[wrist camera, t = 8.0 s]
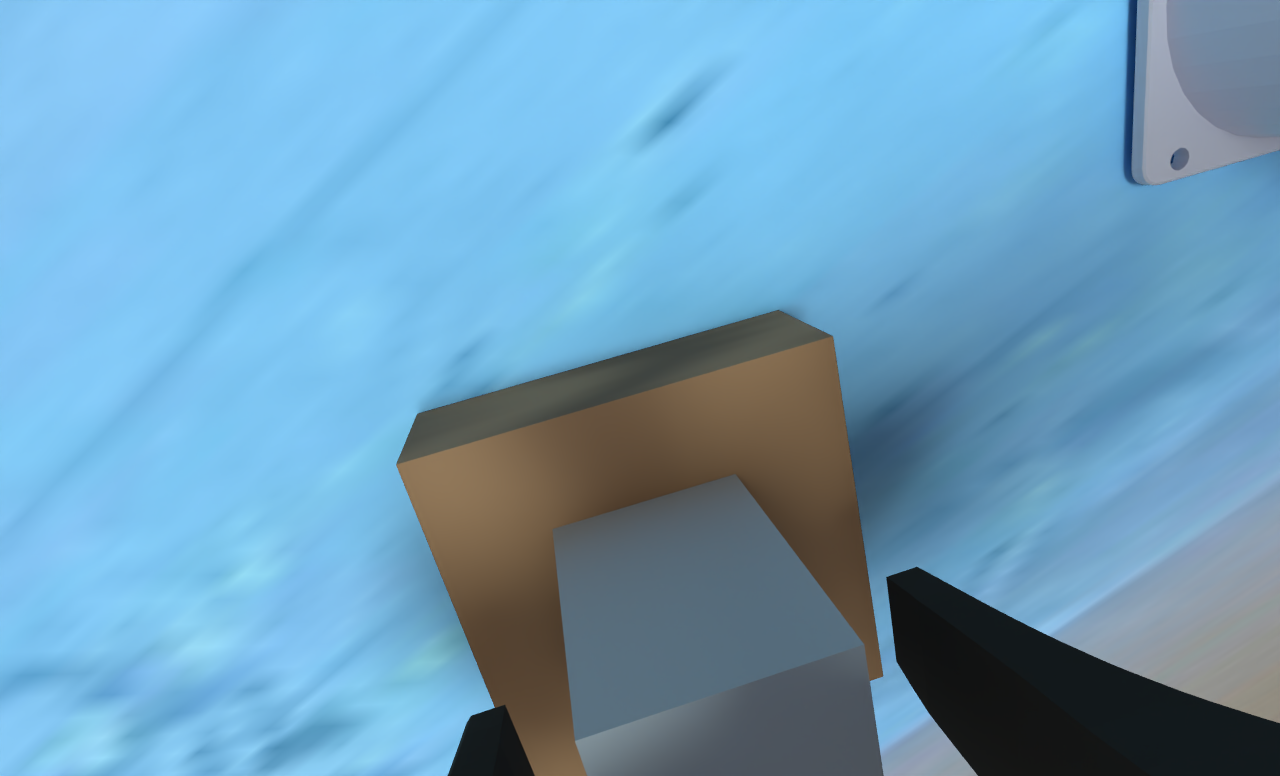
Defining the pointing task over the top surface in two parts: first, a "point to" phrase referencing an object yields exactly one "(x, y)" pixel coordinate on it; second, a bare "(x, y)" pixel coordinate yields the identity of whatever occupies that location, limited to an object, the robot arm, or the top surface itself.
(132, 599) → the top surface
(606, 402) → the walnut slab
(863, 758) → the gray brick
